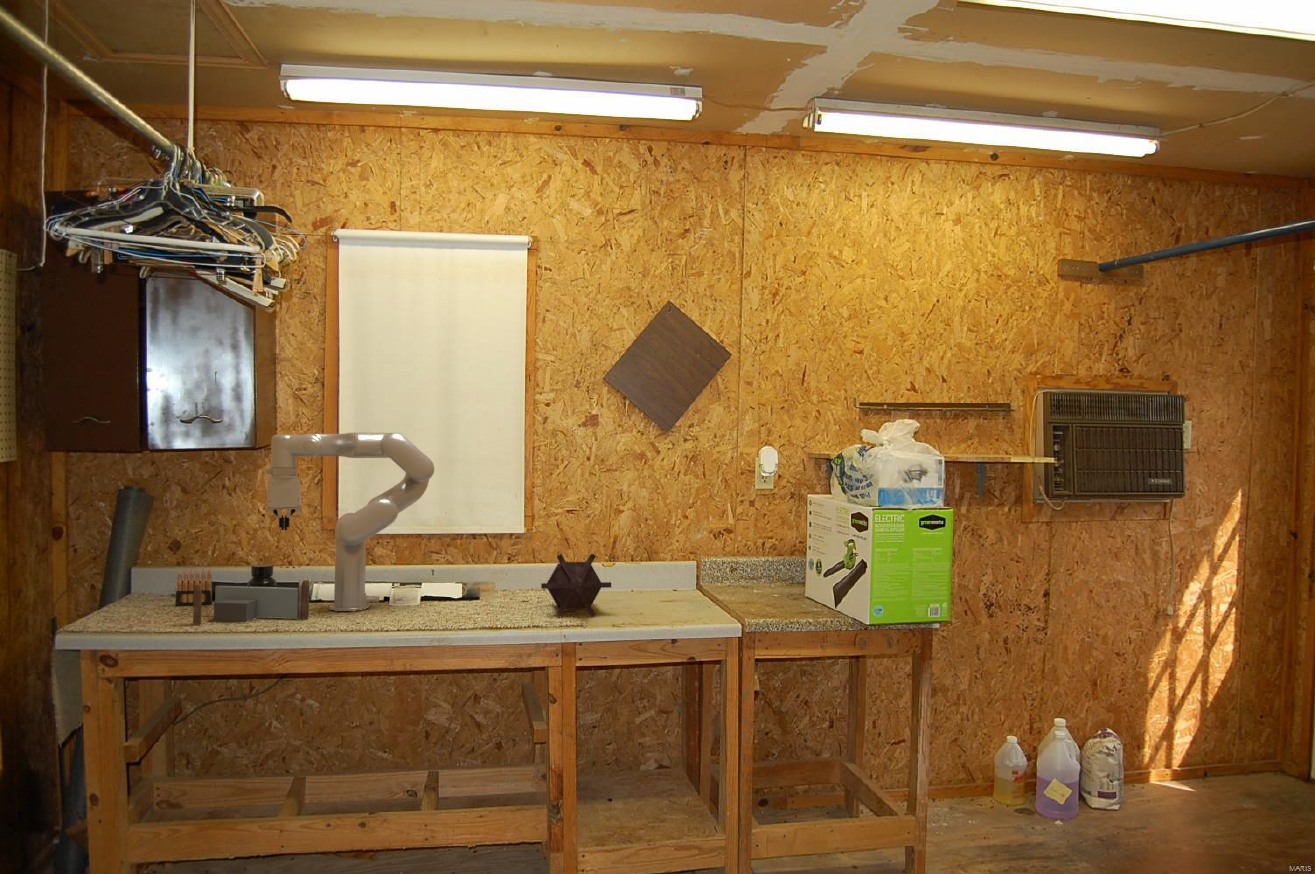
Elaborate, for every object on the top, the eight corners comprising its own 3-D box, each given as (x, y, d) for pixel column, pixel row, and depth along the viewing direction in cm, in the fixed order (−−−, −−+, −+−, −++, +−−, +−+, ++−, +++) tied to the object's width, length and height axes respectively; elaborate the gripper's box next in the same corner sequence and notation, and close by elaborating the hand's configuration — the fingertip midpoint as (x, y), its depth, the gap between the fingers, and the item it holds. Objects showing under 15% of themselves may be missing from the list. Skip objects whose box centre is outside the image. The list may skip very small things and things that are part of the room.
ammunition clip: (175, 606, 275) (175, 569, 275) (176, 605, 277) (177, 569, 277) (211, 605, 278) (211, 569, 278) (212, 604, 280) (213, 568, 280)
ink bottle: (277, 601, 286) (278, 566, 286) (248, 603, 282) (249, 568, 282) (273, 596, 295) (274, 562, 295) (245, 598, 290) (246, 564, 290)
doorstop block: (256, 618, 260) (256, 599, 260) (246, 623, 254) (246, 603, 254) (224, 617, 261) (225, 598, 261) (213, 622, 255) (214, 602, 255)
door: (299, 617, 261) (299, 588, 261) (297, 618, 260) (297, 589, 260) (217, 614, 262) (218, 585, 262) (214, 615, 261) (215, 586, 261)
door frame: (308, 617, 262) (309, 579, 262) (308, 619, 260) (309, 580, 260) (194, 623, 251) (195, 583, 251) (193, 625, 249) (193, 585, 249)
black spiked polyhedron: (599, 617, 294) (613, 622, 265) (533, 613, 290) (540, 618, 261) (604, 556, 298) (618, 554, 269) (539, 551, 293) (546, 548, 265)
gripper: (257, 473, 263) (257, 532, 263) (309, 472, 269) (309, 530, 269) (259, 472, 270) (259, 529, 270) (309, 471, 276) (309, 527, 276)
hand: (284, 529), depth 270 cm, fingers closed
